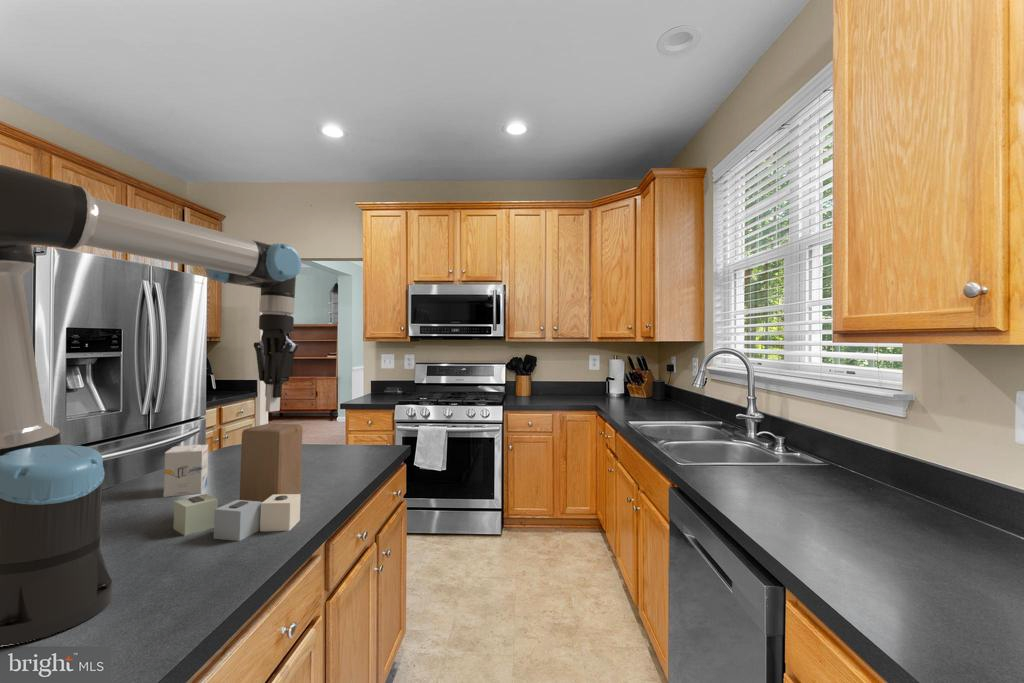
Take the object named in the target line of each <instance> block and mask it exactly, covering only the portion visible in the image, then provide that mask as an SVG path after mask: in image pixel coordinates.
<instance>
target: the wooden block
mask: <svg viewBox="0 0 1024 683" xmlns="http://www.w3.org/2000/svg"><path fill="white" fill-rule="evenodd" d="M303 430H304V428H303V425H300V424H297V423H296V424H294V423H293V424H292V423H265V424H259V425H257V426H253V427H248V428H246V429H242V432H241V447H240V449H241V450H240V475H239V478H240V480H239V500H246V501H258V502H264V501H265V500H266V499H268V498H269V497H270V496H272V495H273V494H302V493H301V491H302V490H301V488H302V485H301V484H302V483H301V482H302V460H303V459H302V458H303V457H302V456H303V455H302V454H303Z"/></svg>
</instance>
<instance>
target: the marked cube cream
mask: <svg viewBox="0 0 1024 683" xmlns="http://www.w3.org/2000/svg"><path fill="white" fill-rule="evenodd" d="M301 494H302V493H301ZM301 494H273V495H272V496H270V497H269V498H268V499H266V500H265V501H264V502H262V503H261V517H260V530H259V531H260V532H289V531H291V530H292V529H293V527H296V525H297V523H299V522H300V521H301Z"/></svg>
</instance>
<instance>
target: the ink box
mask: <svg viewBox="0 0 1024 683" xmlns="http://www.w3.org/2000/svg"><path fill="white" fill-rule="evenodd" d="M208 468H209V444H208V443H207V444H190V445H179V446H173V447H171V448H169V449H168V450H166V451H165V452H164V475H163V476H164V477H163V494H162V495H163V498H166V497H169V498H170V497H177V496H189V495H199V494H200V495H202V493H203V491H204V490H205V488H206V487H207V485H208V475H209V474H208V470H209V469H208Z"/></svg>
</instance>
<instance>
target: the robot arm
mask: <svg viewBox="0 0 1024 683" xmlns="http://www.w3.org/2000/svg"><path fill="white" fill-rule="evenodd" d="M32 246H47V247H56V248H61V249H66V250H76V249H78V248H80V247H82V246H86V247H91V248H98V249H101V250H108V251H113V252H117V253H124V254H128V255H133V256H139V257H144V258H149V259H155V260H161V261H164V262H165V261H166V262H171V263H175V264H180V265H181V264H182V265H186V266H191V267H197V268H201V269H205V270H204V271H205V274H206V275H207V277H208V278H209V279H210V280H212V281H215V282H220V283H223V284H224V285H225V284H231V285H238V286H245V287H254V288H256V289H257V288H259V289H260V294H259V295H260V296H259V307H258V308H259V312H260V313H261V314H259V317H258V318H259V319H258V328H259V330H260V331H262V334H261V337H260V341H257V342H254V343H253V347H254V350H255V355H256V363H257V372H258V379H259V381H260V382H263V383H264V384H265V392H264V393H265V394H264V395H265V412H267V413H269V412H270V413H272V412H279V411H280V410H281V409H280V408H281V398H282V391H283V390H282V388H283V387H282V385H284V383H288V382H289V381H290V376H291V372H292V367H293V362H294V358H295V354H296V352H297V350H298V348H299V344H298V343H297V342H295V343H294V342H293V341H292V337H291V334H290V332H292V331H294V323H295V322H294V321H295V320H294V316H293V315H294V314H295V295H296V280H297V276H298V275H299V274H300V271H301V269H302V259H301V255H300V254H299V252H298V250H296V248H294V247H293V246H291V245H289V244H286V243H273V244H268V243H265V242H261V241H258V240H253V239H249V238H245V237H242V236H239V235H235V234H231V233H226V232H223V231H219V230H216V229H211V228H208V227H204V226H201V225H197V224H194V223H189V222H186V221H183V220H178V219H175V218H173V217H172V218H170V217H168V216H163V215H160V214H157V213H153V212H149V211H145V210H142V209H138V208H134V207H130V206H127V205H125V204H120V203H116V202H111V201H109V200H105V199H101V198H98V197H94V196H92V195H91V194H90V193H89V191H87V189H86V188H85V187H82V186H78V185H76V184H72V183H69V182H65V181H62V180H57V179H54V178H51V177H47V176H44V175H40V174H37V173H33V172H29V171H26V170H22V169H20V168H15V167H11V166H7V165H5V164H0V646H1V645H9V644H17V643H21V642H26V641H30V640H34V639H38V638H41V639H44V638H47V637H50V636H53V635H55V633H56V634H58V633H57V632H59V633H61V632H63V630H64V631H66V630H68V628H69V629H71V628H73V627H75V626H78V625H80V624H82V623H83V622H86V621H87V620H90V619H91V618H94V617H95V616H96V615H98V614H99V613H101V612H102V611H103V610H104V609H105V608H107V606H109V605H110V603H112V600H113V598H114V580H113V578H112V575H111V572H110V570H109V567H108V566H107V564H106V561H105V558H104V556H103V554H102V552H101V529H102V528H101V527H102V512H103V511H102V510H103V507H102V506H103V489H104V488H103V487H104V480H105V474H106V472H105V468H104V464H103V463H104V461H103V456H102V454H101V453H100V452H99V451H98V450H96V449H94V448H91V447H88V446H83V445H70V444H62V438H61V432H60V429H59V428H57V427H55V426H53V425H51V424H48V423H47V422H46V421H45V416H44V409H43V402H42V395H41V389H40V383H39V376H38V370H37V362H36V358H35V351H34V343H33V336H32V332H31V325H30V319H29V313H28V311H29V310H28V305H27V301H26V300H27V298H26V293H25V287H24V280H23V276H24V275H25V274H26V273H27V272H28V271H30V270H31V269H32V268H34V267H35V261H34V254H33V249H32ZM60 631H61V632H60ZM52 634H53V635H52ZM43 637H44V638H43ZM38 640H39V639H38ZM34 641H35V640H34Z"/></svg>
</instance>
